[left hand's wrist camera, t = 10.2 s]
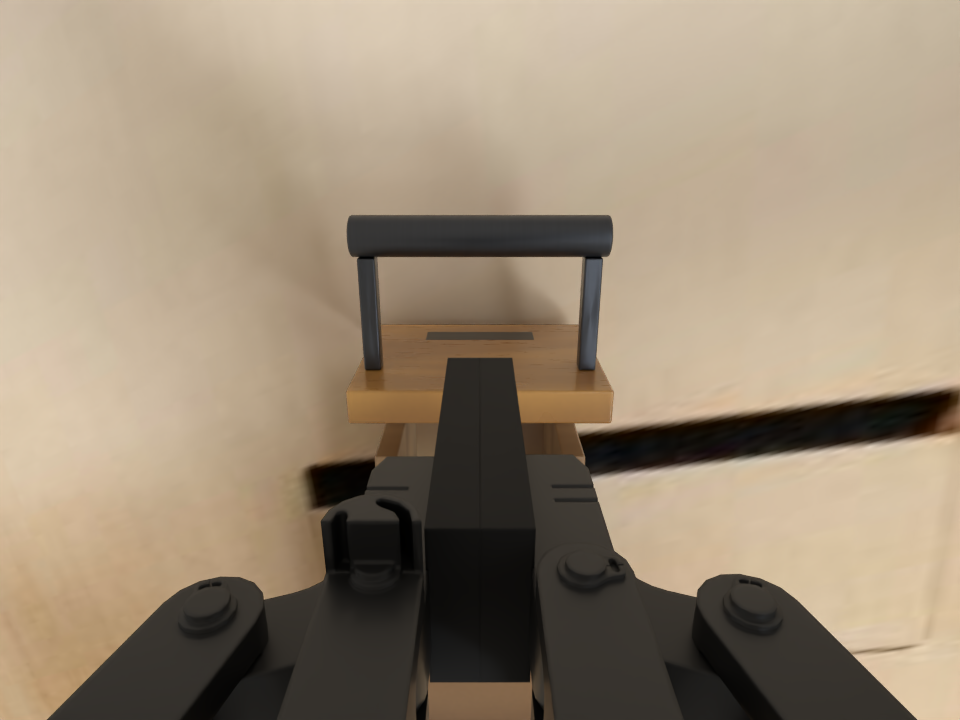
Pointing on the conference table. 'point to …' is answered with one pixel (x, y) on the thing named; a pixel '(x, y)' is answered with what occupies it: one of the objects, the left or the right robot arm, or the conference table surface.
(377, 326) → the drawer
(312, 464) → the conference table surface
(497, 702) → the cabinet
